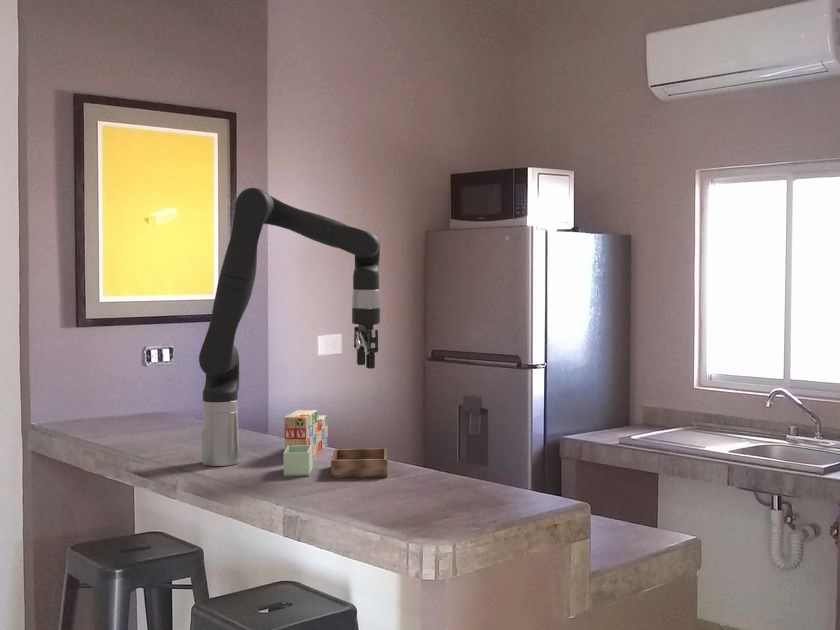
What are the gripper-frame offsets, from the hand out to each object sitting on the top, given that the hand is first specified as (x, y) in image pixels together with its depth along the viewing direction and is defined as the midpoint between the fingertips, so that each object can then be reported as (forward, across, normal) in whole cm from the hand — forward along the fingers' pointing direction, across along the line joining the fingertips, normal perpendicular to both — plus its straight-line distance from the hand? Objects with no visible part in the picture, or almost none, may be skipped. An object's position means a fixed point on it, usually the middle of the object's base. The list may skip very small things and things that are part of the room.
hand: (365, 366), depth 256 cm
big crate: (+26, +11, -5) cm, 29 cm away
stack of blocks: (+27, -19, -11) cm, 35 cm away
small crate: (+26, +5, -20) cm, 33 cm away
